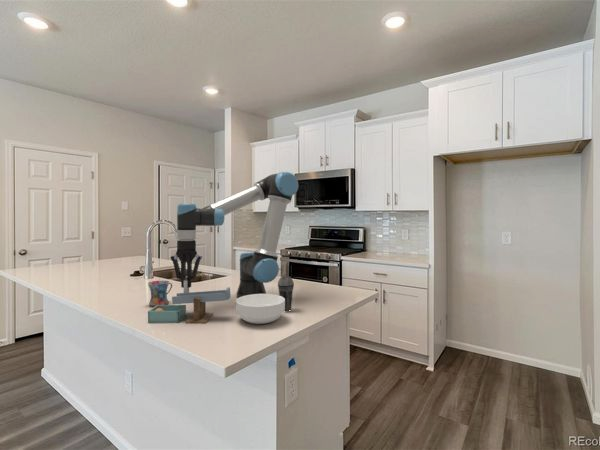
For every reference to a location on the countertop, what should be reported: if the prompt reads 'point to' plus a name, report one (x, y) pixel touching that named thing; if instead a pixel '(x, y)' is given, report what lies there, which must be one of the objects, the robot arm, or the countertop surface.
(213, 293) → the blue-grey ramp
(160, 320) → the tray
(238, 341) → the countertop surface
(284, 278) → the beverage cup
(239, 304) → the bowl
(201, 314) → the fulcrum
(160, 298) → the mug
